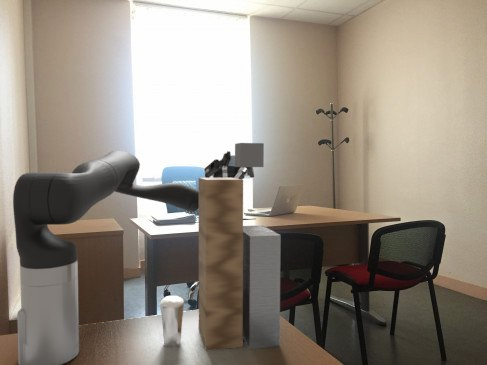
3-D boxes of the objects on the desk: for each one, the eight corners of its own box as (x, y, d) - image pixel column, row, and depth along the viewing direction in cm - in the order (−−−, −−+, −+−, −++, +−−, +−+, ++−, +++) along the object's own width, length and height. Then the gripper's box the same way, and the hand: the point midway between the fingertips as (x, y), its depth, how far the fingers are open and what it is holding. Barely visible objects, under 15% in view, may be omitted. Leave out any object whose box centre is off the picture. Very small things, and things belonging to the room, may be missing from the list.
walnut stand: (206, 350, 74) (206, 179, 73) (198, 328, 84) (198, 177, 82) (242, 346, 76) (243, 179, 74) (231, 325, 86) (231, 177, 84)
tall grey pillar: (249, 349, 75) (250, 236, 74) (235, 324, 86) (235, 226, 85) (279, 346, 76) (280, 235, 75) (261, 321, 88) (262, 225, 87)
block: (240, 167, 82) (240, 142, 82) (222, 165, 101) (222, 145, 100) (263, 167, 83) (263, 143, 83) (241, 165, 102) (241, 146, 102)
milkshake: (183, 349, 74) (183, 297, 74) (156, 347, 76) (156, 295, 75) (191, 339, 79) (191, 289, 78) (166, 336, 80) (165, 288, 79)
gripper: (198, 174, 111) (206, 140, 96) (247, 174, 114) (262, 141, 100) (200, 198, 108) (209, 168, 93) (250, 197, 111) (266, 168, 96)
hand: (236, 154), depth 96 cm, fingers closed on block, 3 cm apart
